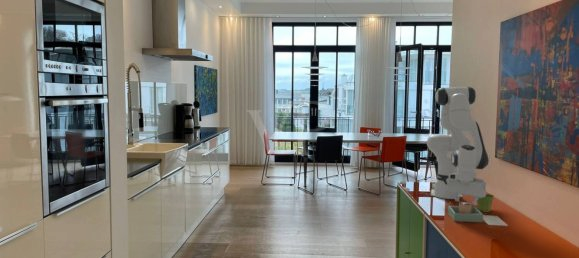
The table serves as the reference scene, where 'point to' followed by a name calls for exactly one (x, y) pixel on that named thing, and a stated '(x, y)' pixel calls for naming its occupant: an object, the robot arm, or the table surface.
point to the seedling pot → (465, 207)
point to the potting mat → (493, 220)
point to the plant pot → (485, 203)
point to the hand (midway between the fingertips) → (465, 203)
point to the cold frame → (465, 214)
